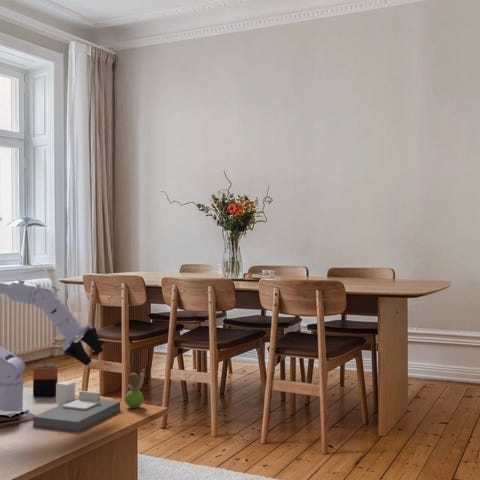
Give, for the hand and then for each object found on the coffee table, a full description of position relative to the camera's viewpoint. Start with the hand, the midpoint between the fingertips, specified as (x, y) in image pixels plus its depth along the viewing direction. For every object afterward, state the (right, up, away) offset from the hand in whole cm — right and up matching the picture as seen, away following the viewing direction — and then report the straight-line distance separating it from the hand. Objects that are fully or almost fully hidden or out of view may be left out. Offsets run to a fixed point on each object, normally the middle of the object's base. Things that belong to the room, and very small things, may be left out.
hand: (94, 357), depth 185 cm
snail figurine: (+11, -16, +5) cm, 20 cm away
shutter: (-3, -13, -2) cm, 14 cm away
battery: (-20, -16, +19) cm, 32 cm away
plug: (-11, -16, +7) cm, 20 cm away
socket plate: (-3, -16, -6) cm, 17 cm away
